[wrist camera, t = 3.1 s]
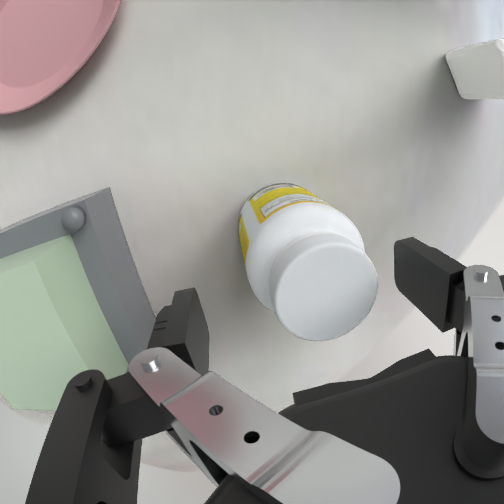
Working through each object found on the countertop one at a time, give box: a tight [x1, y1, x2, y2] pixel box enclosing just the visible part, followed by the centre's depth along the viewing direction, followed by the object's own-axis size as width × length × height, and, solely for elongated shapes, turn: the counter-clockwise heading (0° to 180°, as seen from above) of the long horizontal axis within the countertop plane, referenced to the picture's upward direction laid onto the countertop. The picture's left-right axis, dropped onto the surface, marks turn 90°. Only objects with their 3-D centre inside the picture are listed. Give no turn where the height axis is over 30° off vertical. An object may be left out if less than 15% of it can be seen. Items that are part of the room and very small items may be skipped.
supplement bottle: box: [238, 183, 378, 341], centre depth 15 cm, size 5×5×10 cm
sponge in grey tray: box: [0, 187, 156, 411], centre depth 17 cm, size 12×12×8 cm
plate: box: [0, 0, 121, 115], centre depth 12 cm, size 14×14×2 cm
